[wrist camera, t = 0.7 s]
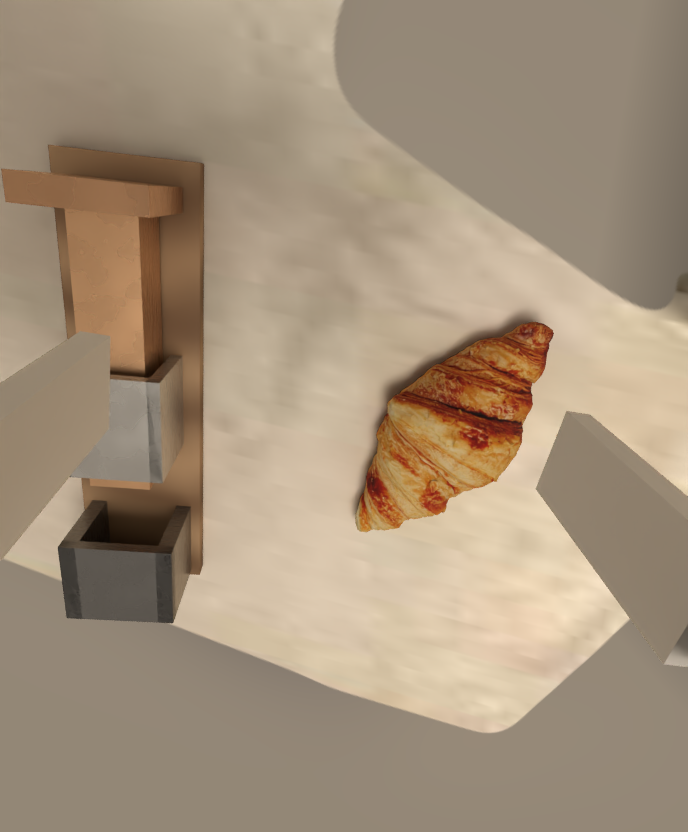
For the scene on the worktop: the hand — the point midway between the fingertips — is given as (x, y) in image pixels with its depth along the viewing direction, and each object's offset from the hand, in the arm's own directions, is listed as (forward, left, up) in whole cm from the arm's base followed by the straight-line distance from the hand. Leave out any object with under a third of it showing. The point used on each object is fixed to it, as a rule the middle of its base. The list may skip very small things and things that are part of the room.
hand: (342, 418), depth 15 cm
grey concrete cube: (-1, -16, -22) cm, 27 cm away
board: (-1, -16, -24) cm, 28 cm away
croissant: (+14, +1, -24) cm, 28 cm away
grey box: (+8, -24, -22) cm, 34 cm away
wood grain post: (-5, -13, -22) cm, 26 cm away
